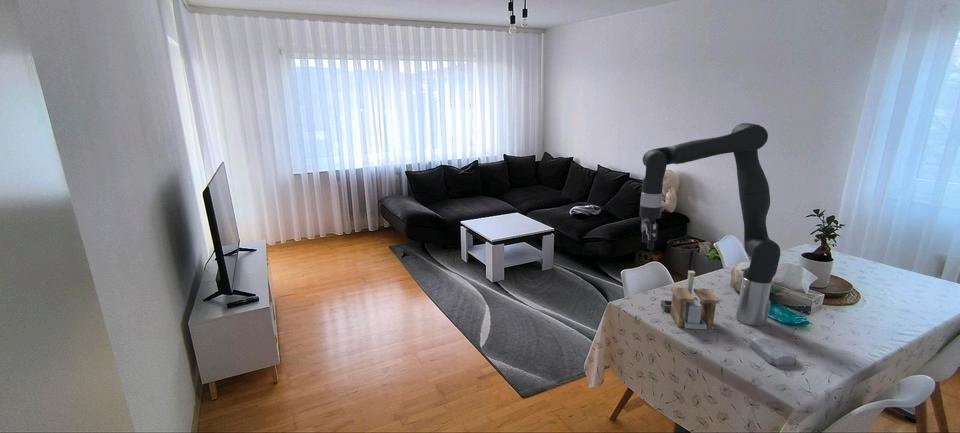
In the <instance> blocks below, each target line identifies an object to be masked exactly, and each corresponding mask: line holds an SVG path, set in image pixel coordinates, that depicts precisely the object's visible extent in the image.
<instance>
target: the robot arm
mask: <svg viewBox="0 0 960 433" xmlns="http://www.w3.org/2000/svg"><path fill="white" fill-rule="evenodd" d="M768 138H769V133H768V131H767V129H766V128H765V127H764V126H762V125H760V124H756V123H750V122H742V123H739V124H737V125H735V126H734V127H733V129H732V130H731V132H730V133H728V134H726V135H724V134H723V135H721V136H716V137H711V138H709V137H708V138H703V139H702V138H701V139H694V140H691V141H686V142H681V143H679V144H678V143H677V144H675V145H671V146H662V147H656V148H653V149H649V150H648V151H646V152H645V153H644V154H643V156H642V164H643V166H644V167H645V173H644V178H642V185H641V196H640V200H639V201H640V203H639V204H640V205H639V214H638V215H639V217H641V222H640V230H641V242H642V243H645V244H646V243H647V250H648V251H654V250H655V241H657V240H658V234H659V224H658V223H657V222H656V219H660V218H661V217H662V207H663V190H664V189H663V187H664V178H665V175H666V170H667V166H668V165H672V164H673V165H681V164H686V163H690V162H694V161H699V160H701V159H705V158H709V157H710V158H711V157H714V156H718V155H724V154H726V155H727V154H731V153H733V156H734V160H735V164H736V165H735V166H736V177H737V185H738V186H737V187H738V196H739V202H740V203H739V204H740V209H741V214H742V220H743V230H744V232H743V237H744V238H743V246H744V247H743V248H744V251H745V253H746V255H747V256H748V257H749V258H750V266H749V268H746V269H745V270H744V273H743V278H742V284H741V290H740V293H739V296H738V302H737V308H736V311H735V312H736V314H735V319H736V320H738V322H740V323H743V324H745V325H748V326H755V327H761V326H763V325H765V326H766V325H767V322H768V318H769V317H768V316H769V312H770V308H771V300H770V298H769V297H770V292H771V287H772V283H773V279H774V277H775V276H776V274H777V272H778V267H779V263H780V259H781V247H780V246H779V244H778V243H777V242H776V241H774V240H773V239H771V238H770V237H769V233H768V229H767V215H768V213H769V210H770V207H771V194H770V186H769V182H768V178H767V177H766V174H765V172H764V170H763V168H762V165H761V163H760V159H759V152H758V151H759V149H761V148H762V147H763V146H765V144H766V143H767V142H768Z"/></svg>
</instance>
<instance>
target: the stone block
mask: <svg viewBox="0 0 960 433" xmlns="http://www.w3.org/2000/svg"><path fill="white" fill-rule="evenodd" d="M749 348H750V349H751V350H752V351H753V352H755V353H756V354H757V355H758V356H760V357H761V358H762V359H763V360H764V361H766V363H768V364H770V365H771V366H773V367H776V366H778V367H780V366H784V365H785V366H792V365H794V364H795V363H796V359H797V355H796V354H795V353H794V352H792V350H791V349H787V348H786V347H785V346H783V345H782V344H781V343H780V342H778V341H776V339H773V338H771V337H765V336H764V337H753V338H752V339H751V340H750V342H749Z"/></svg>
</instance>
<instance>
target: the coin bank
mask: <svg viewBox="0 0 960 433" xmlns="http://www.w3.org/2000/svg"><path fill="white" fill-rule="evenodd" d="M750 262H751V261H750ZM750 262H747V261H741V262H739V263H737V264H735V266H734V267H733V268H732V269H731V270H730V271H729V274H730V285H731V286H732V288H733V290H735V291H736V292H737V293H739V294H740V290H741V284H742V278H743V273H744V270H745V269H746V268H749V266H750Z"/></svg>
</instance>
